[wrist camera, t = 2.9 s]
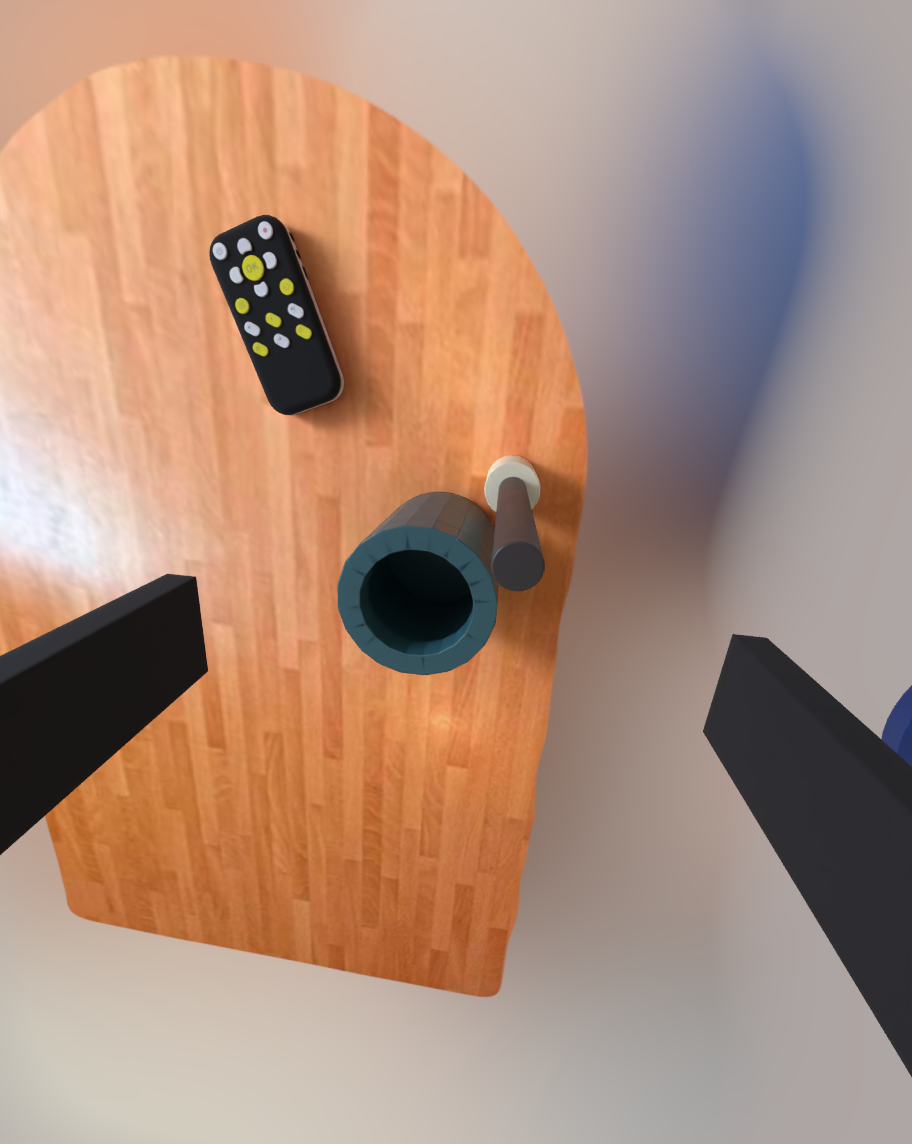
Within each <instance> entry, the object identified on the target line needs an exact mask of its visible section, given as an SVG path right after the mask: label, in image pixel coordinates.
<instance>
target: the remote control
mask: <svg viewBox="0 0 912 1144" xmlns="http://www.w3.org/2000/svg"><path fill="white" fill-rule="evenodd" d="M210 261H211V264H212V267H213V269H214V271H215V274H216V276H217V279H218V281H219V283H220V286H221V288H222V291H223V293H224V295H225V298H226V300H227V303H228V305H229V307H230V310H231V312H232V315H233V317H234V319H235V322H236V324H237V327H238V329H239V331H240V334H241V336H242V339H243V341H244V343H245V346H246V348H247V351H248V353H249V355H250V358H251V360H252V363H253V365H254V367H255V370H256V372H257V375H258V377H259V379H260V382H261V384H262V387H263V389H264V391H265V394H266V396H267V399H268V401H269V403H270V404H271V406H272V407H273V408H274V409H275V410H276V411H277V412H279V413H281V414H284V415H295V414H299V413H302V412H305V411H307V410H310V409H313V408H315V407H318V406H321V405H324V404H326V403H329V402H332V401H334V400H336V399H337V398H338V397H339V396H340V395H341V393H342V391H343V388H344V378H343V374H342V372H341V369H340V366H339V363H338V361H337V358H336V355H335V352H334V350H333V347H332V344H331V341H330V339H329V336H328V333H327V330H326V328H325V325H324V322H323V320H322V317H321V314H320V311H319V309H318V306H317V303H316V300H315V298H314V295H313V292H312V289H311V287H310V284H309V281H308V277H307V274H306V271H305V268H304V267H303V265H302V262H301V259H300V255H299V253H298V251H297V248H296V246H295V243H294V238H293V236H292V234H291V233H290V231H289V230H288V228H287V227H286V226H285V225H284V224H283V223H282V222H281V221H279V220H278V219H277V218H275V217H272V216H270V215H262V216H258V217H256V218H254V219H251V220H249V221H247V222H245V223H243V224H241V225H239V226H236V227H234V228H232V229H230V230H228V231H226V232H224V233H222V234H220V235H218V236H217V237H215V239H214V240H213V241H212V244H211V246H210Z"/></svg>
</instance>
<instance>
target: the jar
mask: <svg viewBox="0 0 912 1144" xmlns="http://www.w3.org/2000/svg"><path fill="white" fill-rule="evenodd" d="M494 530H495V528H494V525H493V524H492V522H491V520H490V519H489V517H488V516H487V515H486V513H485V512H484V511H483V510H482V509H481V508H480V507H479V506H477V505H476V504H475V503H473V502H472V501H470V500H468V499H467V498H464V497H462V496H460V495H456V494H453V493H447V492H431V493H426V494H422V495H419V496H417V497H414V498H412V499H410V500H409V501H407V502H406V503H404V504H403V505H402V506H400V507H399V508H398V509H397V510H395V511H394V512H393V513H392V514H391V515H390V516H389V517H388V518H387V519H386V520H385V521H384V522H383V523H382V524H380V525H379V526H378V527H377V528H376V529H375V530H374V531H373V532H372V533H371V534H370V535H369V536H368V537H367V538H365V539H364V540H363V541H362V542H361V543H360V544H359V545H358V546H357V548H356V549H355V550H354V552H353V553H352V554H351V555H350V557H349V558H348V559H347V560H346V562H345V564H344V567H343V570H342V573H341V576H340V579H339V582H338V610H339V612H340V615H341V618H342V621H343V623H344V626H345V629H346V630H347V632H348V633H349V635H350V636H351V637H352V639H353V640H354V641H355V643H356V644H357V645H358V647H359V648H360V649H361V650H362V651H363V652H364V653H366V654H367V655H368V656H370V657H371V658H372V659H374V660H375V661H376V662H377V663H380V664H381V665H383V666H386V667H388V668H391V669H393V670H396V671H398V672H402V673H410V674H419V675H430V674H436V673H442V672H448V671H450V670H452V669H454V668H456V667H458V666H460V665H462V664H464V663H466V662H468V661H469V660H470V659H471V658H472V657H473V656H474V655H475V654H476V653H477V652H478V651H479V650H480V649H481V648H482V647H483V646H484V645H485V644H486V642H487V640H488V638H489V636H490V634H491V632H492V630H493V628H494V626H495V622H496V612H497V603H498V582H497V581H496V580H495V578H494V576H493V574H492V570H491V562H492V551H493V541H494Z"/></svg>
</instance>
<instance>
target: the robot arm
mask: <svg viewBox="0 0 912 1144" xmlns="http://www.w3.org/2000/svg"><path fill="white" fill-rule="evenodd" d="M207 672H208V667H207V659H206V651H205V643H204V635H203V627H202V620H201V612H200V604H199V596H198V588H197V580H196V577H192V576H183V575H174V574H166V575H164V576H162V577H160V578H158V579H156V580H154V581H152V582H150V583H148V584H146V585H144V586H142V587H140V588H138V589H136V590H134V591H132V592H129V593H127V594H125V595H123V596H121V597H119V598H117V599H115V600H113V601H111V602H109V603H107V604H105V605H103V606H101V607H99V608H97V609H95V610H93V611H91V612H89V613H87V614H85V615H83V616H81V617H79V618H77V619H75V620H73V621H71V622H69V623H67V624H64V625H62V626H60V627H58V628H56V629H54V630H52V631H50V632H48V633H46V634H44V635H42V636H40V637H38V638H36V639H34V640H32V641H30V642H28V643H26V644H24V645H22V646H20V647H18V648H16V649H14V650H12V651H10V652H8V653H6V654H4V655H2V656H0V855H1V854H2V853H3V852H4V851H5V850H7V849H8V848H9V847H10V846H11V845H12V844H13V843H14V842H16V841H17V840H18V839H19V838H20V837H21V836H22V835H24V834H25V833H26V832H27V831H28V830H29V829H30V828H31V827H32V826H34V825H35V824H36V823H37V822H38V821H39V820H40V819H42V818H43V817H44V816H45V815H46V814H47V813H48V812H50V811H51V810H52V809H53V808H54V807H55V806H56V805H57V804H59V803H60V802H61V801H62V800H63V799H64V798H65V797H66V796H68V795H69V794H70V793H71V792H72V791H73V790H74V789H75V788H77V787H78V786H79V785H80V784H81V783H82V782H83V781H85V780H86V779H87V778H88V777H89V776H90V775H91V774H92V773H94V772H95V771H96V770H97V769H98V768H99V767H100V766H101V765H103V764H104V763H105V762H106V761H107V760H108V759H109V758H111V757H112V756H113V755H114V754H115V753H116V752H117V751H118V750H120V749H121V748H122V747H123V746H124V745H125V744H126V743H127V742H129V741H130V740H131V739H132V738H133V737H134V736H135V735H136V734H138V733H139V732H140V731H141V730H142V729H143V728H144V727H146V726H147V725H148V724H149V723H150V722H151V721H152V720H153V719H155V718H156V717H157V716H158V715H159V714H160V713H161V712H162V711H164V710H165V709H166V708H167V707H168V706H169V705H170V704H171V703H173V702H174V701H175V700H176V699H177V698H178V697H179V696H181V695H182V694H183V693H184V692H185V691H186V690H187V689H188V688H190V687H191V686H192V685H193V684H194V683H195V682H196V681H197V680H199V679H200V678H201V677H202V676H203V675H204V674H205V673H207ZM703 732H704V734H705V736H706V737H707V739H708V741H709V742H710V744H711V746H712V747H713V749H714V751H715V752H716V754H717V756H718V757H719V759H720V761H721V762H722V764H723V766H724V767H725V769H726V770H727V772H728V774H729V775H730V777H731V779H732V780H733V782H734V784H735V785H736V787H737V789H738V790H739V792H740V794H741V795H742V797H743V798H744V800H745V802H746V804H747V805H748V806H749V809H750V810H751V812H752V814H753V815H754V817H755V818H756V820H757V822H758V823H759V825H760V827H761V828H762V830H763V832H764V833H765V835H766V837H767V838H768V840H769V842H770V843H771V845H772V847H773V848H774V850H775V852H776V853H777V855H778V856H779V858H780V860H781V861H782V863H783V865H784V866H785V868H786V870H787V871H788V873H789V874H790V876H791V878H792V880H793V881H794V883H795V884H796V886H797V888H798V889H799V891H800V893H801V895H802V896H803V898H804V899H805V901H806V903H807V905H808V906H809V908H810V909H811V911H812V913H813V914H814V916H815V918H816V919H817V921H818V923H819V924H820V926H821V928H822V929H823V931H824V933H825V934H826V936H827V938H828V939H829V941H830V943H831V944H832V946H833V948H834V949H835V951H836V953H837V954H838V956H839V957H840V959H841V961H842V962H843V964H844V966H845V967H846V969H847V971H848V972H849V974H850V976H851V977H852V979H853V981H854V982H855V984H856V986H857V987H858V989H859V991H860V992H861V994H862V995H863V997H864V999H865V1000H866V1002H867V1004H868V1005H869V1007H870V1009H871V1010H872V1012H873V1014H874V1015H875V1017H876V1019H877V1020H878V1022H879V1024H880V1025H881V1027H882V1029H883V1030H884V1032H885V1034H886V1035H887V1037H888V1039H889V1040H890V1042H891V1044H892V1045H893V1047H894V1048H895V1050H896V1052H897V1053H898V1055H899V1056H900V1058H901V1060H902V1062H903V1063H904V1065H905V1067H906V1068H907V1070H908V1072H909V1073H910V1075H911V1077H912V766H910V765H909V764H908V763H907V762H906V761H905V760H904V759H903V758H901V757H900V756H899V755H898V754H897V753H896V752H895V751H894V750H892V749H891V748H890V747H889V746H888V745H887V744H886V743H885V742H883V741H882V740H881V739H880V738H879V737H878V736H877V735H876V734H874V733H873V732H872V731H871V730H870V729H869V728H868V727H867V726H865V725H864V724H863V723H862V722H861V721H860V720H859V719H858V718H856V717H855V716H854V715H853V714H852V713H851V712H849V710H847V709H846V708H845V707H844V706H843V705H842V704H841V703H840V702H838V701H837V700H836V699H835V698H834V697H833V696H832V695H831V694H829V693H828V692H827V691H826V690H825V689H824V688H823V687H821V686H820V685H819V684H818V683H817V682H816V681H815V680H814V679H813V678H811V677H810V676H809V675H808V674H807V673H806V672H805V671H804V670H802V669H801V668H800V667H799V666H798V665H797V664H796V663H794V662H793V661H792V660H791V659H790V658H789V657H788V656H787V655H786V654H784V653H783V652H782V651H781V650H780V649H779V648H777V646H775V645H774V644H773V643H772V642H771V641H770V640H769V639H768V638H763V637H753V636H744V635H735V634H733V635H732V638H731V641H730V645H729V648H728V651H727V655H726V658H725V661H724V664H723V667H722V671H721V674H720V677H719V680H718V684H717V687H716V690H715V694H714V697H713V700H712V703H711V707H710V710H709V713H708V716H707V720H706V723H705V726H704V730H703Z"/></svg>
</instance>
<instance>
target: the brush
mask: <svg viewBox="0 0 912 1144" xmlns="http://www.w3.org/2000/svg"><path fill="white" fill-rule="evenodd" d="M540 490H541V488H540V482H539V479H538V476H537V474H536V472H535V470H534V468H533V466H532V465H531V463H530V462H529V461H527V460H526V459H524V458H522V457H520V456H515V455H509V456H505V457H502V458H500V459H498V460H497V461H496V462H495V463H494V464H493V465H492V466H491V468H490V470H489V472H488V476H487V480H486V483H485V498H486V501H487V503H488V505H489V506H490V507H491V509H492V510H493V511H495V512H496V520H495V530H494V541H493V551H492V562H491V570H492V574H493V576H494V578H495V580H496V581H497V582H498V583H499V584H500V585H501V586H502V587H504V588H506V589H508V590H512V591H524V590H527V589H530V588H532V587H533V586H535V585H536V584H537V583H538V582H539V581H540V579H541V578H542V576H543V573H544V569H545V563H544V558H543V554H542V550H541V546H540V542H539V538H538V534H537V530H536V525H535V521H534V517H533V513H532V509H533V508H534V507H535V505H536V504H537V502H538V500H539V497H540Z"/></svg>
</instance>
